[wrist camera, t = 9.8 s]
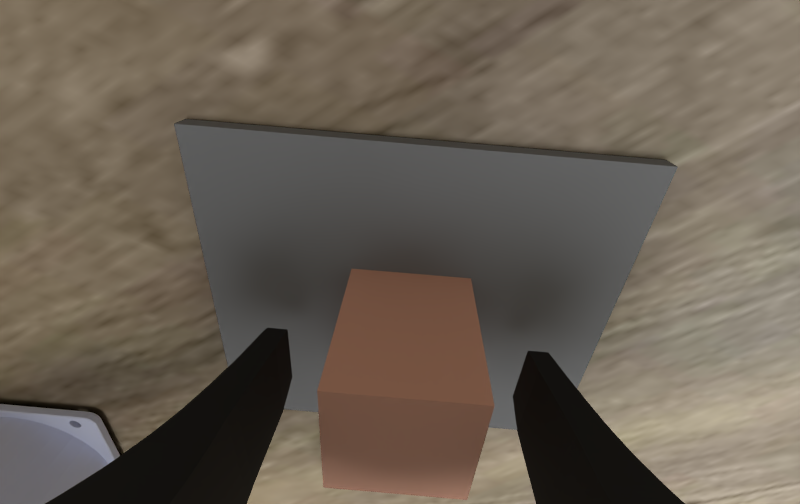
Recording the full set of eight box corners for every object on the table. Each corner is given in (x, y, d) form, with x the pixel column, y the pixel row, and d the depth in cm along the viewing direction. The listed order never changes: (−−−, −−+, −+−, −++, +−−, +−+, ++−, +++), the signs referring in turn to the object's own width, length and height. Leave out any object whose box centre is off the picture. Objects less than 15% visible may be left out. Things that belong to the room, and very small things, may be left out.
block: (351, 354, 15) (323, 487, 11) (351, 268, 13) (316, 390, 9) (454, 362, 15) (467, 499, 11) (471, 278, 13) (494, 406, 9)
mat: (241, 393, 18) (236, 404, 17) (185, 118, 11) (173, 123, 11) (552, 421, 18) (556, 433, 17) (666, 160, 11) (677, 166, 11)
